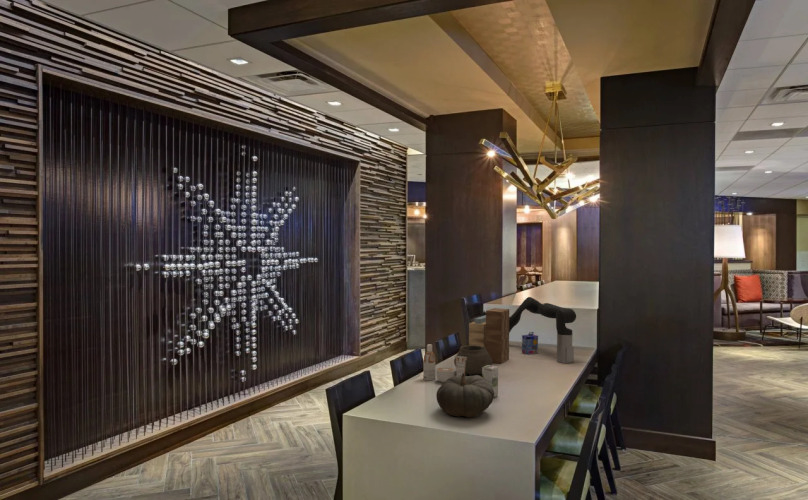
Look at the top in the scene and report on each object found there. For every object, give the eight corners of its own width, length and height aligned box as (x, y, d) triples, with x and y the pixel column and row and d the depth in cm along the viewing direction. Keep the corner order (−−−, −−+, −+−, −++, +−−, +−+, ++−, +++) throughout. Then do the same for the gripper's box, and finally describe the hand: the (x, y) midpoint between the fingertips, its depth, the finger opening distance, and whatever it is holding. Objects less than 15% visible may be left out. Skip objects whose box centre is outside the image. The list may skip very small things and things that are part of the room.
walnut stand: (493, 357, 349) (494, 308, 349) (508, 359, 345) (509, 309, 344) (485, 362, 335) (485, 310, 335) (501, 364, 331) (501, 311, 330)
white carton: (487, 394, 264) (487, 364, 264) (498, 396, 260) (498, 366, 260) (481, 396, 260) (481, 366, 259) (492, 399, 256) (492, 368, 256)
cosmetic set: (470, 382, 286) (470, 347, 285) (463, 386, 278) (463, 350, 277) (427, 376, 298) (428, 342, 298) (420, 380, 290) (420, 345, 290)
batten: (488, 318, 373) (488, 314, 372) (493, 319, 371) (493, 314, 371) (474, 323, 350) (474, 318, 350) (480, 323, 348) (480, 319, 348)
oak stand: (478, 352, 365) (479, 320, 365) (492, 354, 361) (493, 321, 360) (468, 357, 349) (469, 323, 349) (483, 359, 345) (483, 324, 344)
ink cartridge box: (526, 354, 360) (526, 332, 360) (521, 353, 365) (521, 331, 365) (538, 353, 364) (538, 332, 364) (533, 351, 369) (533, 330, 369)
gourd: (494, 398, 246) (490, 363, 244) (498, 426, 222) (494, 386, 219) (439, 402, 249) (435, 367, 246) (437, 429, 225) (433, 390, 222)
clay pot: (491, 379, 293) (491, 352, 293) (451, 377, 297) (452, 350, 297) (492, 370, 314) (492, 344, 314) (456, 368, 318) (456, 343, 318)
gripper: (487, 316, 387) (480, 306, 375) (506, 317, 381) (500, 308, 368) (485, 325, 384) (478, 316, 371) (505, 327, 377) (498, 318, 365)
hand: (489, 312), depth 370 cm, fingers open, 8 cm apart
